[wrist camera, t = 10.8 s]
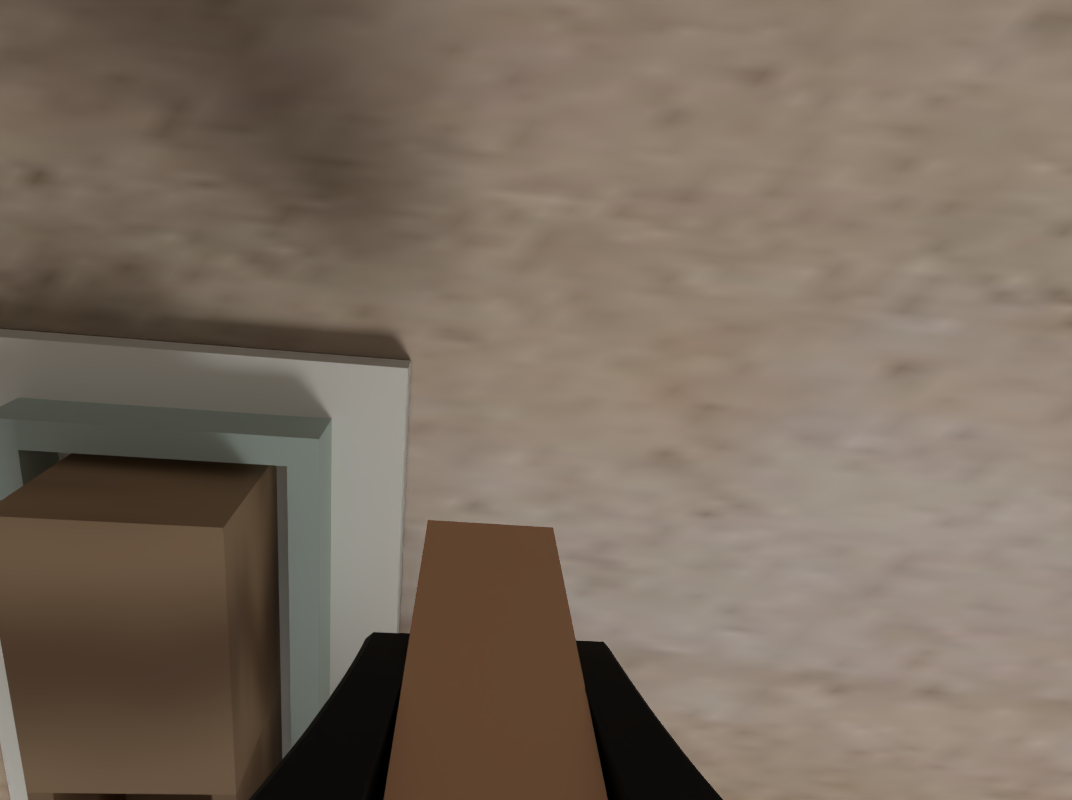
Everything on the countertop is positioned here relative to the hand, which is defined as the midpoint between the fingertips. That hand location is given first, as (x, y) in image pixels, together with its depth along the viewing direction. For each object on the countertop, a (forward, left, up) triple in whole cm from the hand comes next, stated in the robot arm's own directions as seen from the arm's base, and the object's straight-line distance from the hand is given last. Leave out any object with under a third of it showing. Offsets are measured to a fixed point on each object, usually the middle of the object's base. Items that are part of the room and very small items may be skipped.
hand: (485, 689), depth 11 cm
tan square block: (0, 0, -3) cm, 3 cm away
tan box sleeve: (-6, +8, -9) cm, 14 cm away
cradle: (-6, +8, -10) cm, 14 cm away
